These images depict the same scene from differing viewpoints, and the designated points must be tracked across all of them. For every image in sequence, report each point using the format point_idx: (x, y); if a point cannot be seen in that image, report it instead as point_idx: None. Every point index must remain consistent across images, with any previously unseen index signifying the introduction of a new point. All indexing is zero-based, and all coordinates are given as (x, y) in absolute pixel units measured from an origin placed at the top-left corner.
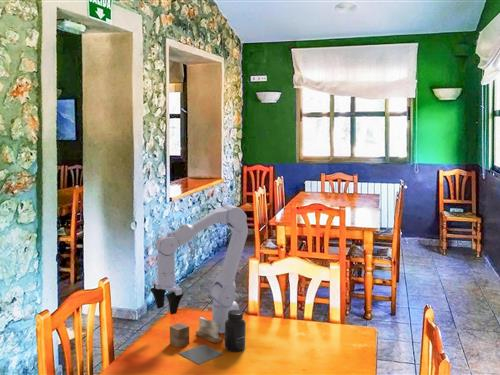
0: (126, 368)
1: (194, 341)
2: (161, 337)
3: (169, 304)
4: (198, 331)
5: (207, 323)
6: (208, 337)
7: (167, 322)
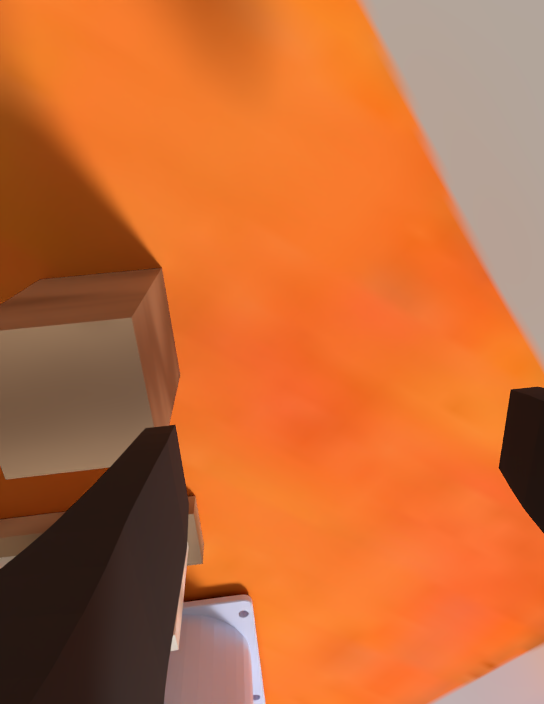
0: None
1: None
2: (319, 274)
3: (103, 535)
4: None
5: None
6: (42, 529)
7: None
